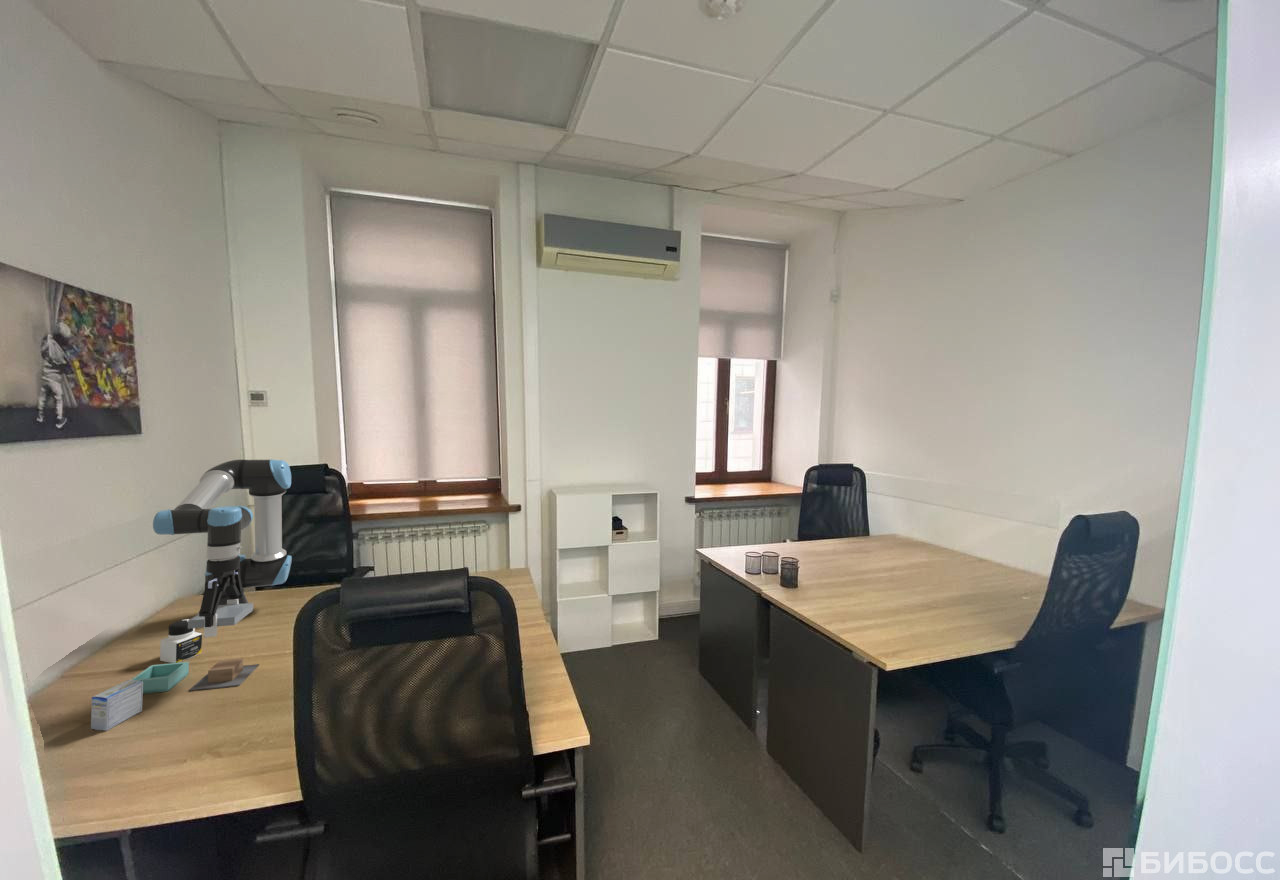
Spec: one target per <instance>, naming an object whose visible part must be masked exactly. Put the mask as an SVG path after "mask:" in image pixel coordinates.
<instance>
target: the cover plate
mask: <svg viewBox="0 0 1280 880" xmlns="http://www.w3.org/2000/svg"><path fill="white" fill-rule="evenodd" d="M253 611H254V602H248V603H245V604H229V605H218V607H217V610H216V613H215V614H217V627H226V626H235V625H237V624H238V623H240V621H241V620H243V619H244V618H245V617H246V616H249V614H250V613H252V612H253ZM189 619H190V620H188V629H190V628H195V629H201V628H203V629H204V617H199V614H198V613H197V614H196V615H194V616H193V617H191V618H189Z"/></svg>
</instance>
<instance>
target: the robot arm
mask: <svg viewBox="0 0 1280 880" xmlns="http://www.w3.org/2000/svg"><path fill="white" fill-rule="evenodd" d="M291 485H292V472H291V468H290V465H289V464H288V462H287V461H285V460H281V459H273V458H272V459H232V460H229V461H225V462H222V463H220V464H219V463H218V464H217V465H215V466H213V467H211V468H209V469H208V470H207V471H205V472H204V473H203V474H202V475H201V477H200V478H199V483H198V484H197V485H196V486H195V487H194V488H193V489H192V490H191V492H190V493H188V495H187V496H185V498H183V500H182V501H181V502H180V503H179V504H178V505H177V506H176V507H175V508H174V509H167V510H166V509H163V510H160V511H157V513H155V514H154V517H153V520H152V527H153V528H152V529H153V531H154V533H155V534H157V535H171V536H174V535H187V534H207V546H206V559H207V560H206V567H205V573H204V577H205V578H204V590H203V591H204V592H203V596H202V600H201V605H200V608H199V611H198V613H197V614H199V617H204V627H203V638H214V637H217V635H218V626H217V614H215V613H216V610H217V607H218V605H229V604H245V603H249V601H248V599H247V596H246V594H245V589H246V588H257V587H258V588H259V587H267V586H271V587H272V586H276V585H282V584H285V583H286V581H287V579H288V577H289V574H290V571H291V565H292V560H293V558H292V557H293V556H292V555H289V554H287V550H286V549H284V548H283V527H282V526H283V524H282V523H283V521H282V520H283V517H282V515H283V512H282V510H283V509H282V508H283V507H282V501H283V500H282V499H283V498H282V496H283V495H284V494H285V493H287V490H288V489H290V488H291ZM230 490H248V495H249V496H251V497H252V498H253V509H254V510H253V511H254V514H253V511H252V510H251V509H250V508H249V507H247V506H243V505H237V506H235V505H234V506H233V505H227V506H226V505H225V506H218V507H214V505H216V503H217V502H218V501H219V500H220V499H221V497H222V496H223V495H224V494H226V493H227V492H230ZM213 507H214V508H213ZM253 519H254V552H253V553H252V554H251V555H250V558H247V557H246V555H245V554H241V549H242V548H243V546H242V545H241V539H242V538H241V536H242V530H244V529H246V528H247V527H248V526H250V524H251V523H252V521H253Z"/></svg>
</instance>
